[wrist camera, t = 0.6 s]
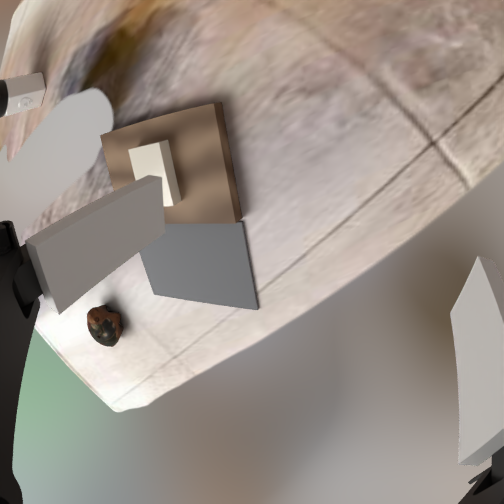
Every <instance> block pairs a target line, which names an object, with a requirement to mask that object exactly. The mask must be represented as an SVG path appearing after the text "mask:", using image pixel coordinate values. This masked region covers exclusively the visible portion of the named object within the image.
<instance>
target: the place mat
mask: <svg viewBox="0 0 504 504" xmlns="http://www.w3.org/2000/svg"><path fill="white" fill-rule="evenodd" d="M139 252H140V255H141V258H142V261H143V264H144V267H145V270H146V273H147V276H148V279H149V282H150V284H151V287H152V290H153V293H154V295H160V296H166V297H172V298H178V299H184V300H190V301H197V302H203V303H210V304H216V305H223V306H230V307H238V308H245V309H252V310H258V309H259V308H258V303H257V297H256V292H255V286H254V281H253V275H252V270H251V264H250V259H249V253H248V248H247V242H246V237H245V231H244V226H243V221H238V222H237V223H236V224H165V233H164V234H162V235H161V236H160V237H158V238H157V239H156V240H154V241H153V242H152V243H150V244H149V245H147V246H146V247H145V248H143V249H142V250H141V251H139Z"/></svg>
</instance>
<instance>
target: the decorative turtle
mask: <svg viewBox="0 0 504 504" xmlns="http://www.w3.org/2000/svg"><path fill="white" fill-rule="evenodd" d="M120 319H121V314H120V313H110V312H108V309H107V306H106V305H102V306H99V307H95V308H92V309H90V311H89V312H88V314H87V325H88V329H89V332H90V334H91V335H92V337H93V338H94V339H95V340H96V341H97V342H98V343H100V344H102V345H104V346H110V347H113V346H114V345H115V344H116V343H117V342H118V340H119V338H120V336H121V334H122V331H123V326H122V325H121V324H119V322H120Z"/></svg>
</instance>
